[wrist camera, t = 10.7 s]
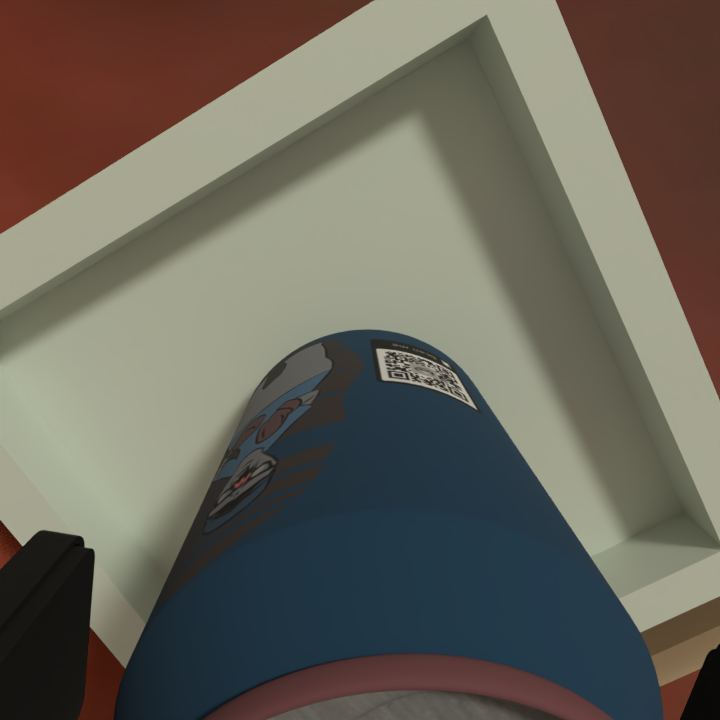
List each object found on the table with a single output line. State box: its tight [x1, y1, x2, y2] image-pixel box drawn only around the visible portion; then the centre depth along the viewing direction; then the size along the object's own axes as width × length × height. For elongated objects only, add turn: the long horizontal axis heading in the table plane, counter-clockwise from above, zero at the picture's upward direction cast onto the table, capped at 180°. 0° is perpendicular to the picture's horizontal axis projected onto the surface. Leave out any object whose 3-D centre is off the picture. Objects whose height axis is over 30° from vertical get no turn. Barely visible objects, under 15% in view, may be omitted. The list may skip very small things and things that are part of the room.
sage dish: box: [0, 0, 720, 669], centre depth 17 cm, size 18×18×3 cm
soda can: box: [114, 329, 663, 720], centre depth 11 cm, size 7×7×12 cm
